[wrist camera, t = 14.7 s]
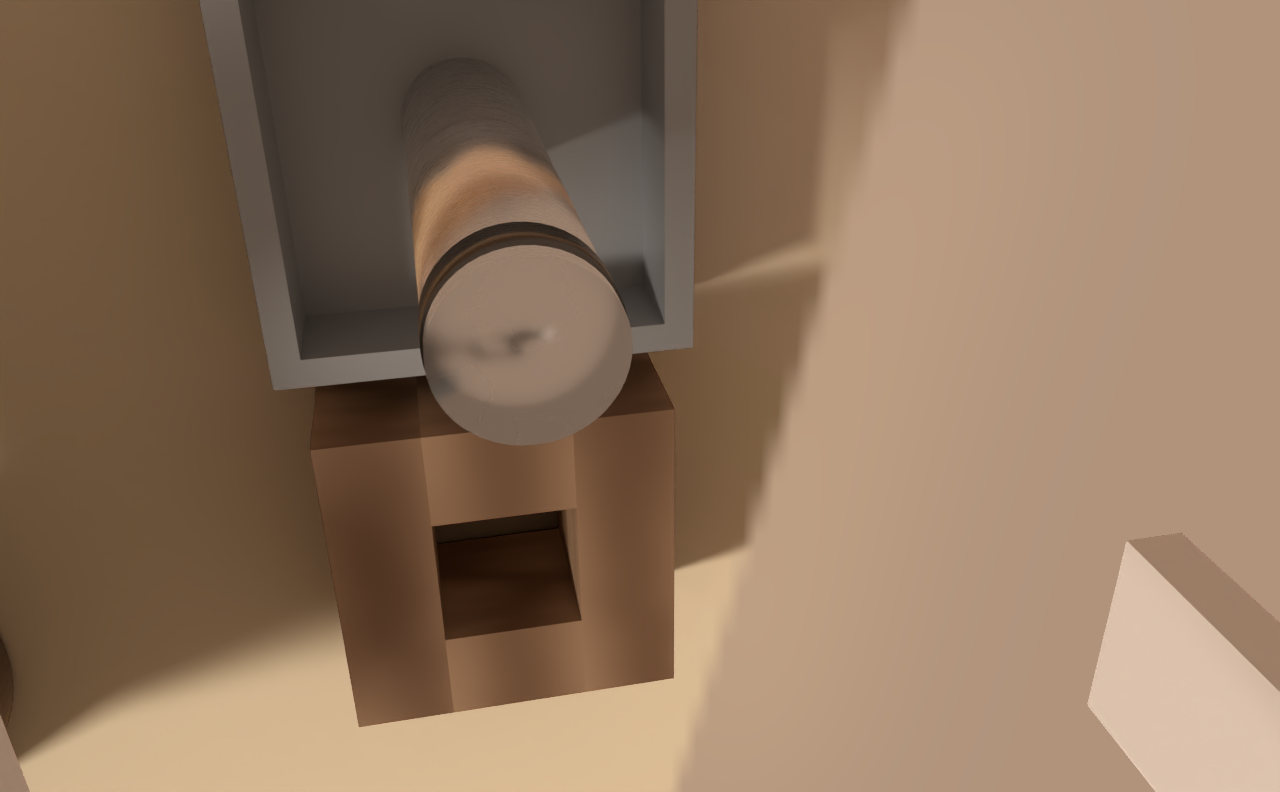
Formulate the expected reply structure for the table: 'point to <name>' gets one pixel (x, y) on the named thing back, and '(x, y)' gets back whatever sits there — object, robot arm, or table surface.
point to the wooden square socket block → (495, 549)
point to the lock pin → (504, 266)
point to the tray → (376, 167)
